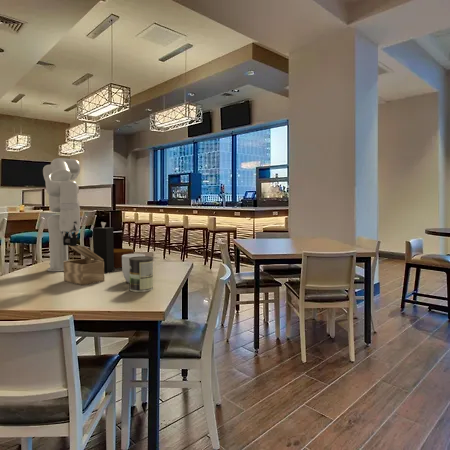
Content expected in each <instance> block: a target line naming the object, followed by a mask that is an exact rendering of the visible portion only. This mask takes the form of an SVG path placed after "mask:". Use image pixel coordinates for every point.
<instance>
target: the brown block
mask: <svg viewBox="0 0 450 450" xmlns="http://www.w3.org/2000/svg"><path fill="white" fill-rule="evenodd" d="M125 254H135V250H134V249H132V248H114V269H119V267H122V255H125Z"/></svg>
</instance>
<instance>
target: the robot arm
mask: <svg viewBox="0 0 450 450" xmlns="http://www.w3.org/2000/svg"><path fill="white" fill-rule="evenodd" d="M80 172H81V164H80V161H78V160H77V159H75V158H64V157H62V158H61V157H60V158H59V157H58V158H57V157H56V158H54V159H53V160H52V161H51V162H50V164H46V165H44V167H43V169H42V175H43V179H44V181H45V188H46V193H47V195H48V205H49V210H50V212H52V213H56V214H54V215H50V216H48V218H47V220H46V225H47V231H48V237H49V239H48V240H49V263H48V264H49V267H48V268H46V271H48V272H64V261H69V246H68V245H70V246H77V245H78V243H77V242H78V239H77V238H78V234H79V232H80V229H81V226H82V225H81V209H80V207H81V206H80V201H79V196H78V194H79V192H80V189H79V188H80V187H79V185H78V183H77V182H76V179H77V178H78V176H79V174H80ZM57 213H59V214H57ZM65 239H70V243H66V242H65Z"/></svg>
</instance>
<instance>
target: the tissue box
mask: <svg viewBox="0 0 450 450" xmlns="http://www.w3.org/2000/svg"><path fill="white" fill-rule="evenodd" d="M100 224H101V227H94V228H93V227H92V231H93V234H92V235H93V238H92V239H93V252H94V253H95V254H97V255H98V256H99V257H101V258H102V259H104V260H103V261H104V274H109V273H111V272H114V271H115V267H114V249H115V248H114V245H115V244H114V243H115V242H114V227H111V226H110V227H105V226H106V225H107V222H104V221H101V222H100ZM93 260H96V259H93ZM98 261H102V260H98Z"/></svg>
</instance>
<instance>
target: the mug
mask: <svg viewBox="0 0 450 450" xmlns="http://www.w3.org/2000/svg"><path fill="white" fill-rule="evenodd" d="M138 256H146V254H145V253H144V254H143V253H134V254H125V255H122V268H121V270H122V276H123V278H124V280H125V281H126V283H128V284H130V265H129V258H131V257H138Z"/></svg>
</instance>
